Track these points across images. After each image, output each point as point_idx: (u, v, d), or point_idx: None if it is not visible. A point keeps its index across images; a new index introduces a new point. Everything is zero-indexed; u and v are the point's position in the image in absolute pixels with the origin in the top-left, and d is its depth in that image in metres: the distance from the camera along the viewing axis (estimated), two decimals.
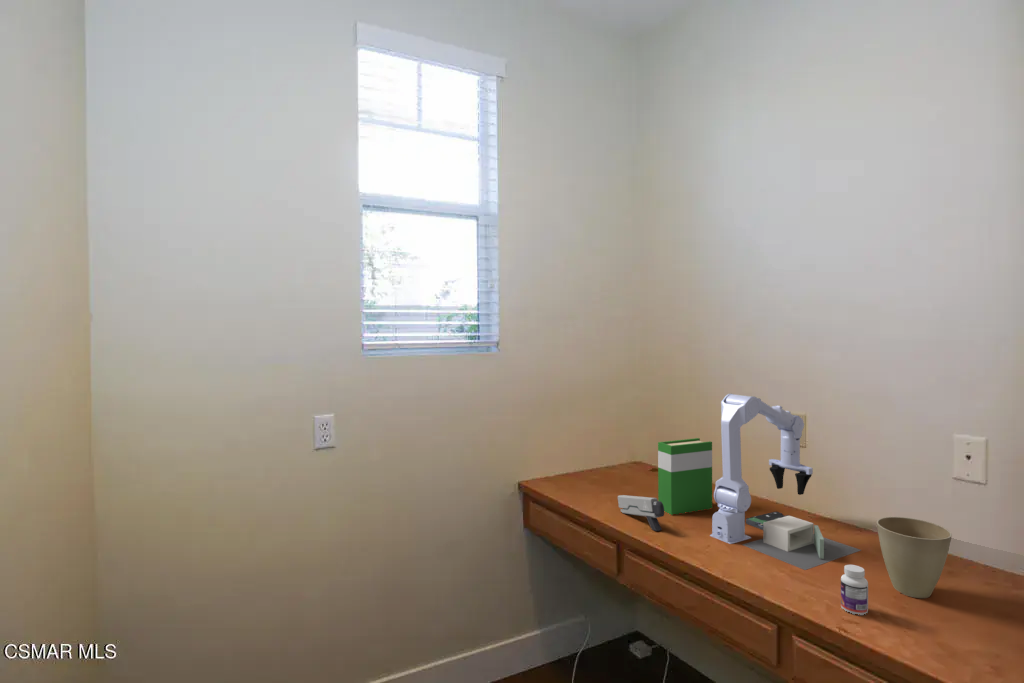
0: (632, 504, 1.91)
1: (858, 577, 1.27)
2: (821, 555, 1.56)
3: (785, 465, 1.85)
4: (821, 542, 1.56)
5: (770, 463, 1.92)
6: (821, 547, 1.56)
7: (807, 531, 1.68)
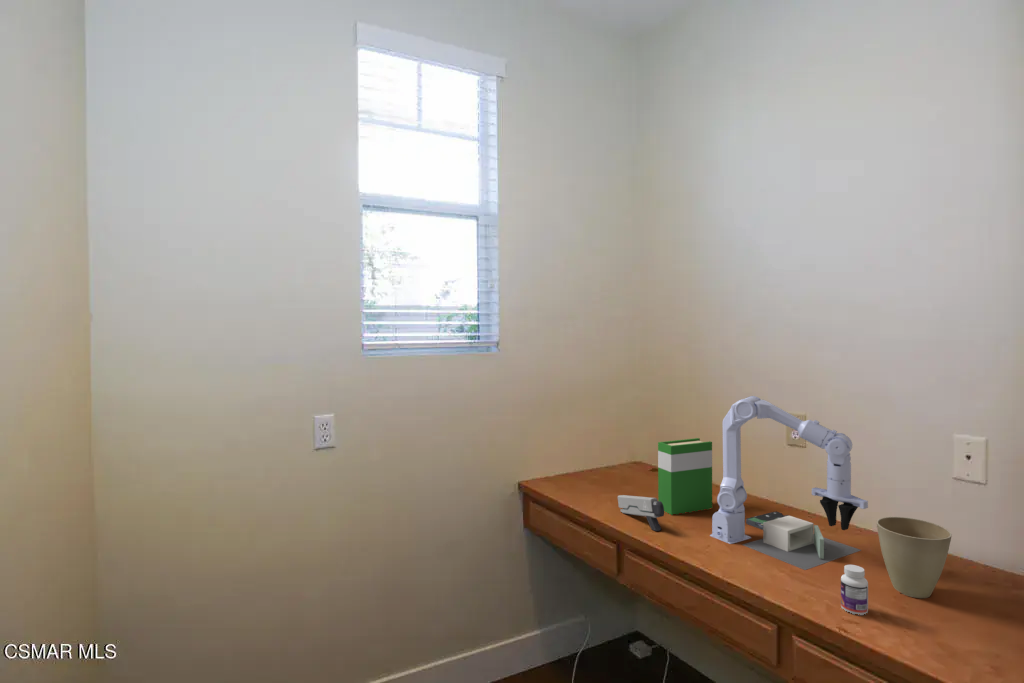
0: (632, 504, 1.91)
1: (858, 577, 1.27)
2: (821, 555, 1.56)
3: (833, 496, 1.53)
4: (821, 542, 1.56)
5: (813, 493, 1.61)
6: (821, 547, 1.56)
7: (807, 531, 1.68)
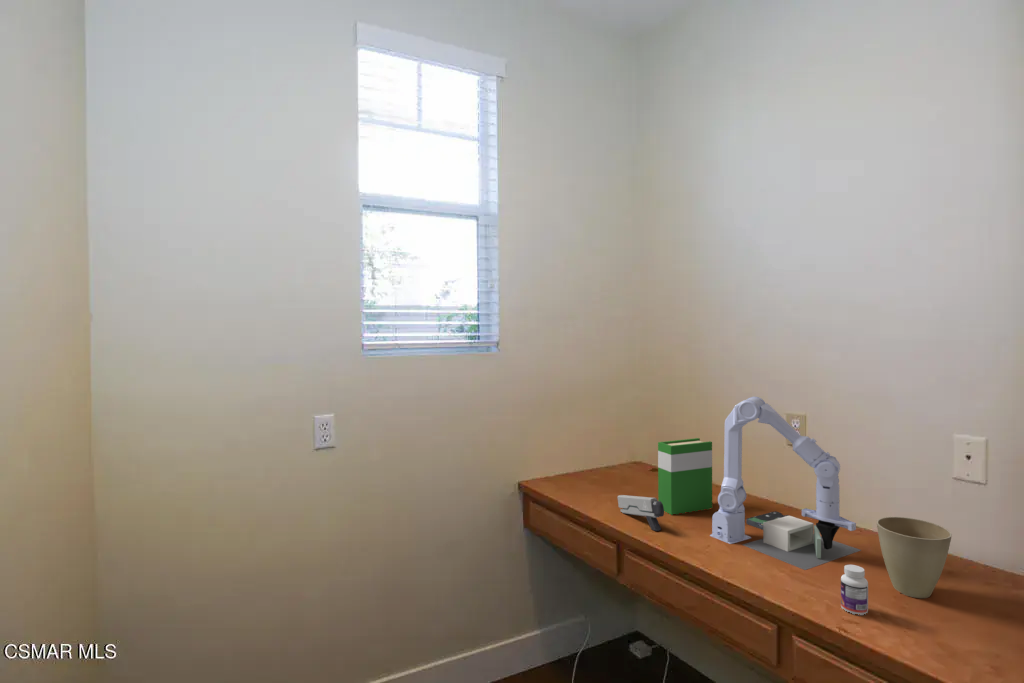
0: (632, 504, 1.91)
1: (858, 577, 1.27)
2: (818, 555, 1.56)
3: (822, 518, 1.56)
4: (818, 542, 1.56)
5: (803, 514, 1.63)
6: (818, 547, 1.56)
7: (807, 531, 1.68)
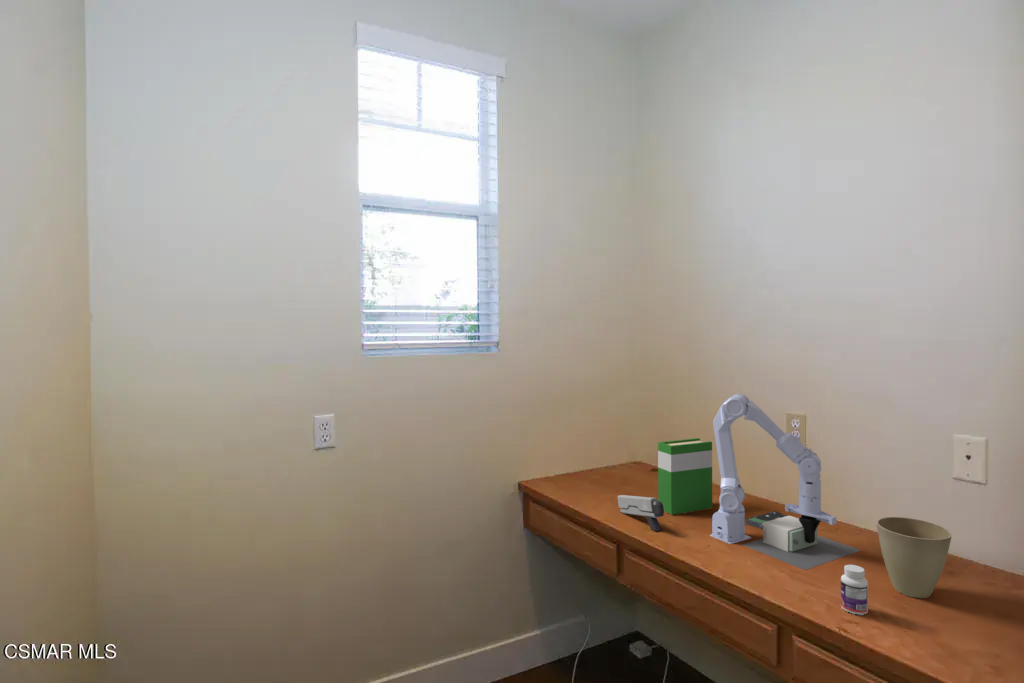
0: (632, 504, 1.91)
1: (858, 577, 1.27)
2: (790, 548, 1.61)
3: (804, 513, 1.61)
4: (790, 535, 1.61)
5: (786, 508, 1.68)
6: (790, 540, 1.61)
7: None
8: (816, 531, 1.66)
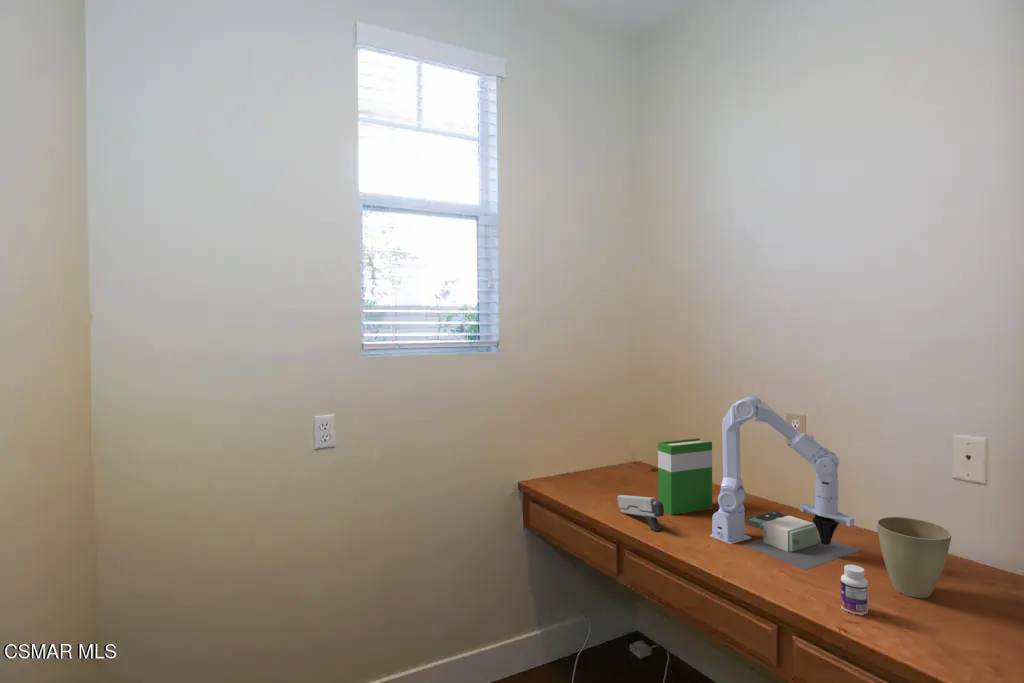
0: (632, 504, 1.91)
1: (858, 577, 1.27)
2: (790, 548, 1.61)
3: (821, 513, 1.57)
4: (790, 535, 1.61)
5: (801, 509, 1.64)
6: (790, 540, 1.61)
7: None
8: (816, 531, 1.66)
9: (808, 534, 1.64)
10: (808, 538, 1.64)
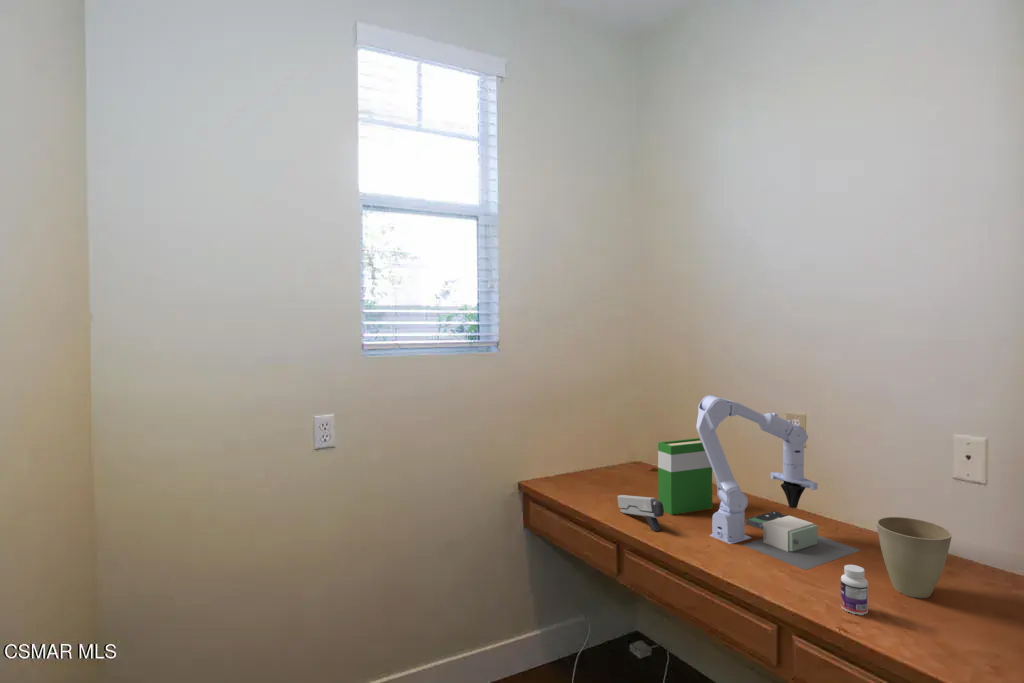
0: (632, 504, 1.91)
1: (858, 577, 1.27)
2: (790, 548, 1.61)
3: (788, 479, 1.71)
4: (790, 535, 1.61)
5: (772, 476, 1.78)
6: (790, 540, 1.61)
7: None
8: (816, 531, 1.66)
9: (808, 534, 1.64)
10: (808, 538, 1.64)
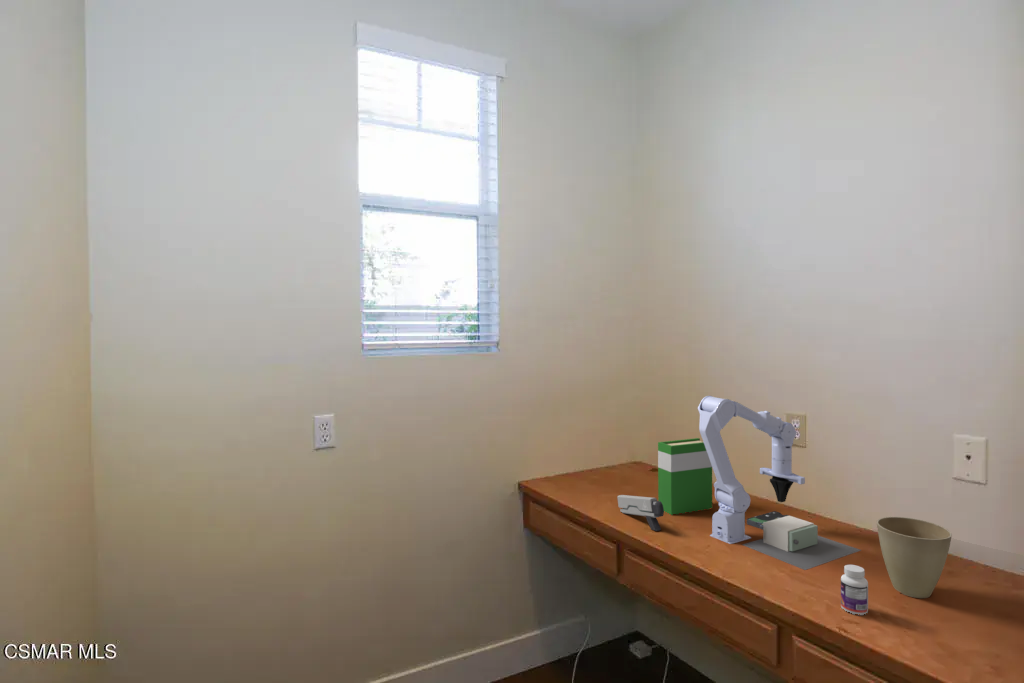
0: (632, 504, 1.91)
1: (858, 577, 1.27)
2: (790, 548, 1.61)
3: (776, 474, 1.76)
4: (790, 535, 1.61)
5: (761, 472, 1.84)
6: (790, 540, 1.61)
7: None
8: (816, 531, 1.66)
9: (808, 534, 1.64)
10: (808, 538, 1.64)
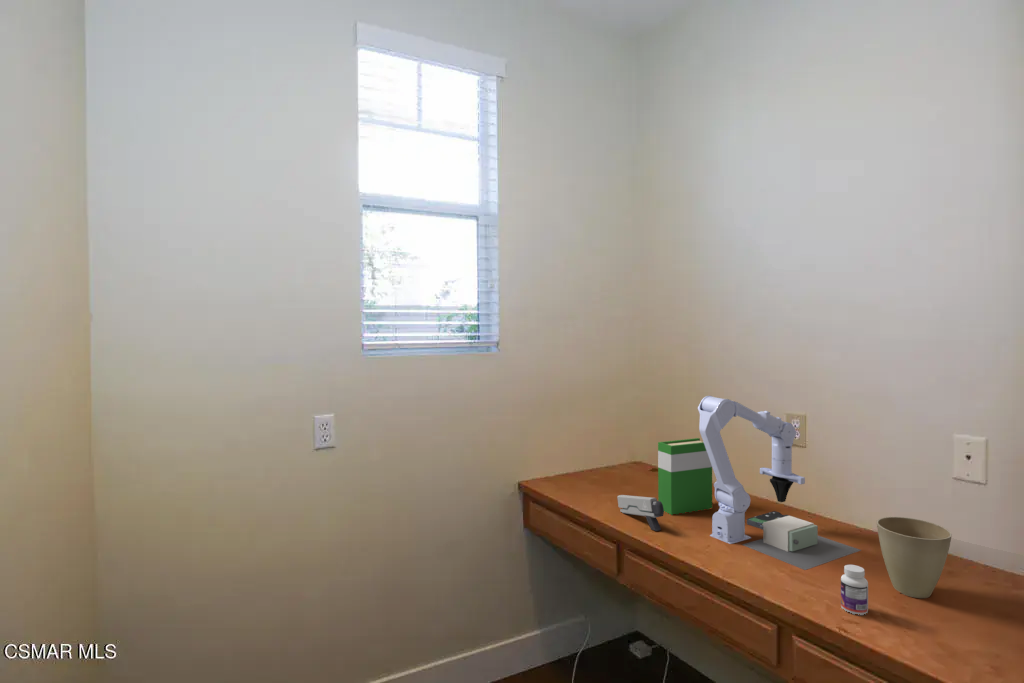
0: (632, 504, 1.91)
1: (858, 577, 1.27)
2: (790, 548, 1.61)
3: (776, 474, 1.76)
4: (790, 535, 1.61)
5: (761, 472, 1.84)
6: (790, 540, 1.61)
7: None
8: (816, 531, 1.66)
9: (808, 534, 1.64)
10: (808, 538, 1.64)
